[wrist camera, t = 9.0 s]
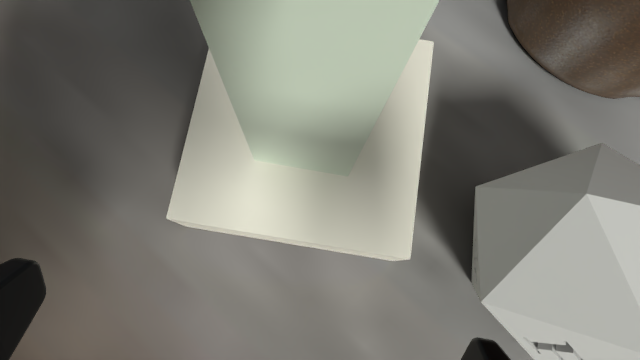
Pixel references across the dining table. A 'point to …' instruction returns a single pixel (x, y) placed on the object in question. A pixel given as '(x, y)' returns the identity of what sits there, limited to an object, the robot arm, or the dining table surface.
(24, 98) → the dining table surface
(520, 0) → the plant pot
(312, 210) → the slab
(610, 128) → the dining table surface
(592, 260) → the die
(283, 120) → the tea tin
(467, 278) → the dining table surface
